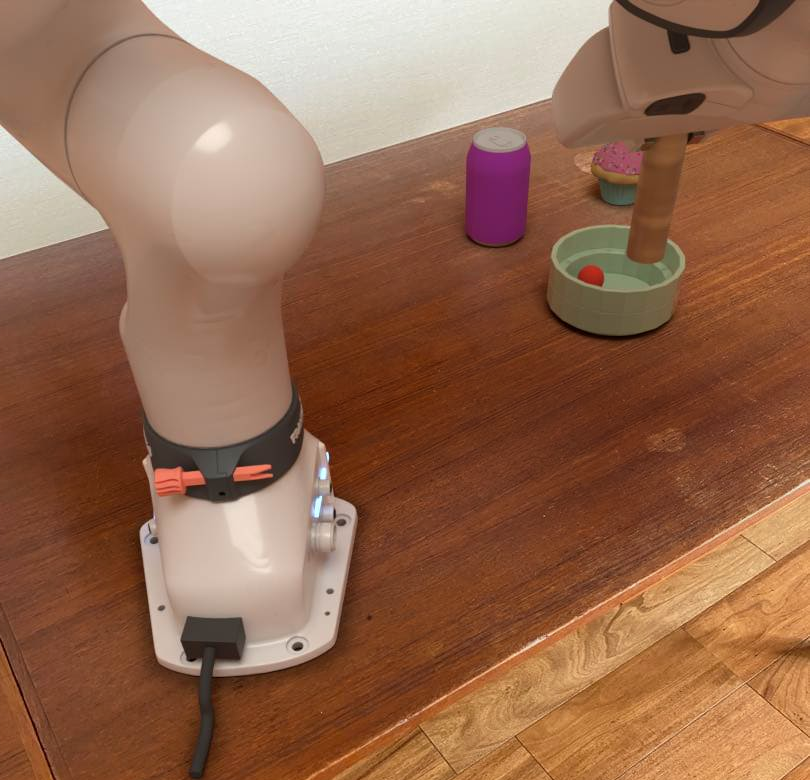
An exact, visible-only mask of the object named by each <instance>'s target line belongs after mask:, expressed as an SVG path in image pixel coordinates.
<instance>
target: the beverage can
mask: <svg viewBox="0 0 810 780" xmlns="http://www.w3.org/2000/svg"><path fill="white" fill-rule="evenodd" d="M465 159H466V160H465V161H466V162H465V202H464V203H465V205H464V206H465V207H464V211H465V212H464V217H465V218H464V227H465V229H464V230H465V232H466V234H467V236H469V237H470V238H471V239H472V240H473V241H474V242H475V243H477V244H479V245H482V246H486V247H496V248H499V247H506V246H509V245H512V244H514V243H515V242H517V241H518V240H519V239H520V238H522V237H523V236H524V234H525V233H526V228H527V216H528V205H529V191H530V178H531V177H530V176H531V162H532V153H531V151H530V147H529V144H528V140H527V136H526V134H525V133H524V132H522V131H520V130H518V129H515V128H511V127H506V126H505V127H504V126H502V127H500V126H495V127H488V128H485V129H480V130H479V131H477V132H475V134H474V135H473V137H472V141H471V143H470V146H469V149H468V151H467V154H466V158H465Z"/></svg>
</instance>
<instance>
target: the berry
mask: <svg viewBox="0 0 810 780" xmlns="http://www.w3.org/2000/svg"><path fill="white" fill-rule="evenodd" d="M577 279H579V280H581V281H583V282H585V283H588V284H592V285H596V286H600V287H602V285H603V283H604V274H603V271H602V270H601V269H600V268H599V267H597V266H595V265H589V266H586V267H584V268H583V269H581V271H580V272H579V274H578V277H577Z"/></svg>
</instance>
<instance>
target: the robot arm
mask: <svg viewBox="0 0 810 780" xmlns="http://www.w3.org/2000/svg"><path fill="white" fill-rule="evenodd" d="M607 15H608V26H606V27H603V28H602V29H600V30H599V31H597V32H596V33H594V34H593V35H591V36H590V37H589V38H588V39H587V40H586V41H585V42H584V43H583V44H582V45H581V46H580V48H579V49H578V50H577V52H576V53H575V54H574V56H573V57H572V58H571V60H570V62H569V63H568V64H567V65H566V67H565V69H564V70H563V72H562V73H561V75H560V77H559V78H558V80H557V81H556V83H555V85H554V88H553V90H552V93H551V110H552V120H553V126H554V129H555V134H556V138H557V141H558V142H559V144H560V145H562V146H563V147H565V149H579V148H585V147H592V146H601V145H607V144H609V143H616V142H623V141H625V145H626V150H627V152H628V153H631V152H639V151H646V150H648V149H649V147H651V146H652V145H653V144H654V143H655V142H656V141H655V137H661V136H669V135H676V134H684V133H689V136H688V141H687V146H689V145H697V144H698V145H699V144H704V143H705V142H706V141H707V140H709V139H710V137H711V138H712V136H713V135H716V134H719V133H722V132H724V131H726V130H728V129H731V128H736V127H742V126H743V127H744V126H752V125H760V124H766V123H772V122H773V123H774V122H782V121H789V120H795V119H796V120H797V119H804V118H810V0H612V1H611V3H610V5H609V6H608V10H607ZM0 126H1V127H2V128H3V129H4V130H5V131H6V132H7V133H8V134H9V135H10V136H11V137H12V138H13V139H14V140H15V141H17V143H19V144H20V145H21V146H22V147H24V148H25V149H26V150H27V151H28V152H29V153H30V154H31V155H32V156H33V157H34V158H35V159H37V161H38V162H39V163H41V164H42V165H43V166H44V167H45V168H46V169H47V170H48V171H50V173H51V174H53V175H54V176H55V177H56V178H57V179H58V180H59V181H61V182H62V183H63V184H64V185H66V186H67V188H69V189H70V190H72V192H74V193H75V194H76V195H77V196H79V197H80V198H81V199H82V200H84V201H85V202H86V203H87V204H88V205H90V206H91V207H92V208H93V209H95V210H96V211H97V212H98V213H99V215H100V216H101V218H102V220H103V221H104V223H105V225H106V226H107V227H108V229H109V231H110V233H111V234H112V236H113V237H114V240H115V243H116V244H117V246H118V249H119V251H120V254H121V258H122V262H123V266H124V271H125V277H126V278H125V279H126V280H125V281H126V298H127V299H126V302H125V303H124V305H123V307H122V309H121V311H120V316H119V320H118V331H119V336H120V339H121V343H122V346H123V349H124V351H125V354H126V357H127V360H128V364H129V366H130V371H131V373H132V376H133V379H134V382H135V385H136V388H137V392H138V395H139V398H140V401H141V404H142V407H141V420H142V428H143V429H142V431H143V437H144V442H145V446H146V451H147V452H148V454H147V455H146V457H145V458H144V459H143V460H142V466H143V468H144V471H145V473H146V477H147V479H148V482H149V489H150V496H151V502H152V503H151V504H152V508H153V509H152V510H153V517H152V518H150V519H148V521H146V522H145V523H144V524H143V525H142V526H141V527H140V529H139V541H140V549H141V557H142V563H143V571H144V579H145V580H144V581H145V588H146V595H147V602H148V612H149V618H150V624H151V626H150V627H151V633H152V641H153V649H154V653H155V657H156V661H157V663H158V664H159V665H160V666H162V667H164V668H166V669H167V670H168V669H169V670H170V671H173V672H177V673H180V674H183V675H184V674H185V675H188V676H189V675H190V676H196V677H199V679H198V691H197V693H198V695H197V699H198V704H199V710H200V718H201V719H200V727H199V735H198V738H197V739H198V740H197V744H196V746H195V750H194V754H193V757H192V761H191V764H190V768H189V772H188V776H189V777H191V778H194V779H199V778H202V776H203V771H204V769H205V768H204V767H205V764H206V760H207V757H208V754H209V750H210V747H211V746H210V745H211V742H212V737H213V731H214V723H215V712H214V707H213V702H212V701H213V700H212V685H213V684H212V683H213V678H214V677H215V678H216V677H217V678H220V677H224V678H225V677H226V678H227V677H238V676H251V675H257V674H258V675H259V674H264V673H265V674H266V673H270V672H275V671H280V670H286V669H289V668H292V667H296V666H298V665H301V664H304V663H306V662H309V661H311V660H313V659H315V658H317V657H319V656H321V655H323V654H325V653H326V652H327V651H329V650H330V649H332V648H333V647H334V645H335V644H336V641H337V639H338V635H339V629H340V623H341V617H342V613H343V607H344V602H345V601H344V600H345V595H346V590H347V584H348V578H349V573H350V569H351V568H350V567H351V562H352V556H353V549H354V545H355V539H356V534H357V528H358V522H359V515H358V512H357V509H356V507H355V506H354V504H352V503H350V502H349V501H347V500H344V499H342V498H339V497H336V496H335V495H334V489H333V483H332V482H333V481H332V479H331V478H332V477H331V472H330V465H329V460H330V456H329V452H328V451H327V448H326V445H325V443H324V442H322V441H321V440H320V439H318V438H317V437H316V436H314V435H313V434H311V432H309V431H308V430H307V429H306V428H305V424H304V408H303V404H302V399H301V396H300V394H299V390H298V387H297V384H296V383H295V381H294V379H293V378H292V377H291V374H290V366H289V360H288V352H287V347H286V346H287V345H286V340H285V332H284V326H283V325H284V324H283V318H282V317H283V316H282V315H283V314H282V290H283V283H284V276H285V273H286V272H287V271H289V270H290V269H291V268H292V267H293V266H295V265H296V264H297V262H298V261H299V260H300V259H301V258H302V256H304V254H305V253H306V252H307V250H308V249H309V247H310V245H311V244H312V242H313V240H314V238H315V236H316V235H317V232H318V230H319V228H320V225H321V221H322V219H323V215H324V211H325V207H326V201H327V200H326V199H327V174H326V167H325V164H324V160H323V156H322V154H321V151H320V149H319V146H318V145H317V143H316V141H315V140H314V138H313V136H312V135H311V134H310V131H308V130H307V129H306V127H305V126H304V124H302V123H301V122H300V121H299V119H297V117H296V116H295V115H294V113H292V111H290V109H289V108H287V106H286V105H285V104H284V103H283V102H282V101H281V100H280V99H279V98H278V97H277V96H276V95H275V94H274V93H273V92H272V91H271V90H270V89H269V88H268V87H267V86H266V85H265V84H263V83H262V82H261V81H260V80H259V79H257V78H255V77H254V76H252V75H250V74H249V73H247V72H245V71H244V70H241V69H239V68H237V67H235V66H233V65H232V64H230V63H227V62H225V61H224V60H222V59H219V58H218V57H217V56H214V55H212V54H210V53H208V52H206V51H205V50H202V49H200V48H198V47H197V46H195V45H194V44H192V43H190V42H188V41H187V40H185V39H184V38H183V37H181V35H179V34H178V33H176V32H175V31H174V30H173V29H172V28H171V27H169V26H168V25H166V24H165V23H164V22H163V21H162V20H161V19H160V18H158V16H156V15H155V13H154V12H153V11H152V10H151V9H150V8H149V7H148V6H147V5H146V4H145V3H144V1H143V0H0ZM299 648H301V649H300V650H296V649H299ZM193 659H195V660H194V661H191V660H193Z"/></svg>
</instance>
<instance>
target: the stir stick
mask: <svg viewBox="0 0 810 780" xmlns="http://www.w3.org/2000/svg"><path fill="white" fill-rule="evenodd" d="M688 136H689V133H684V134H676V135H669V136H661V137H655V141H656V142H655V143H654V144H653V145H652V146H651V147H649V149H648V150H646V151H643V155H642V161H641V166H640V172H639V178H638V184H637V190H636V196H635V202H634V203H633V209H632V216H631V221H630V225H629V226H630V232H629V238H628V244H627V250H626V255H627V257H628V258H629V259H630V260H632V261H634V262H637V263H641V264H654V263H657V262H660V261H661V260H662V259H663V258H664V254H665V249H666V245H667V240H668V239H669V234H670V229H671V224H672V219H673V215H674V211H675V210H674V209H675V205H676V200H677V196H678V191H679V184H680V180H681V175H682V171H683V165H684V160H685V154H686V150H687V146H688V145H687V141H688Z"/></svg>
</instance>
